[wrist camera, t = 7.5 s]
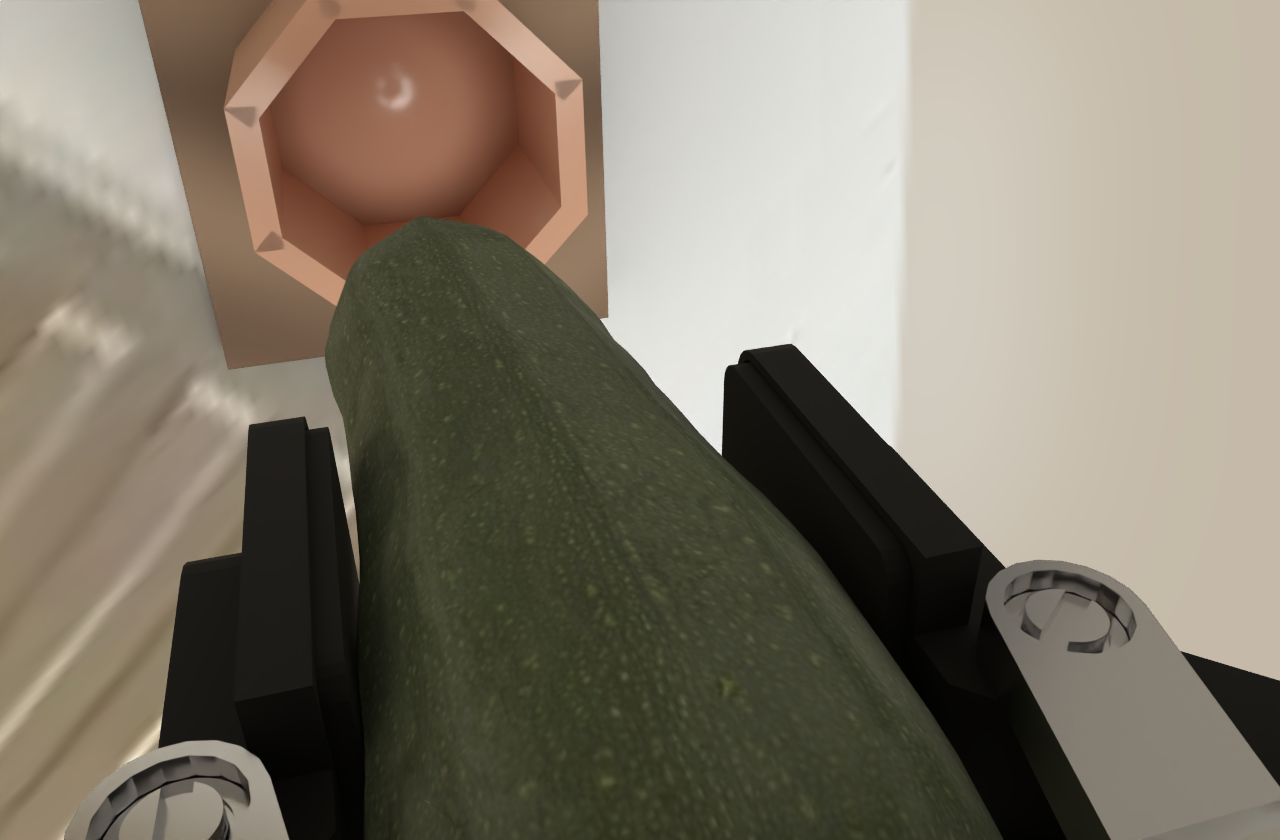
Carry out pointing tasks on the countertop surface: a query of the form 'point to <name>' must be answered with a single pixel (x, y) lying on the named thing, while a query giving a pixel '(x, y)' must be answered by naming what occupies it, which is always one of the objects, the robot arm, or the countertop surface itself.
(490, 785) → the vegetable
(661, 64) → the countertop surface
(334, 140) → the cup
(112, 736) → the countertop surface
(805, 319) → the countertop surface
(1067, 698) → the robot arm
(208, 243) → the stand
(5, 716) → the countertop surface
